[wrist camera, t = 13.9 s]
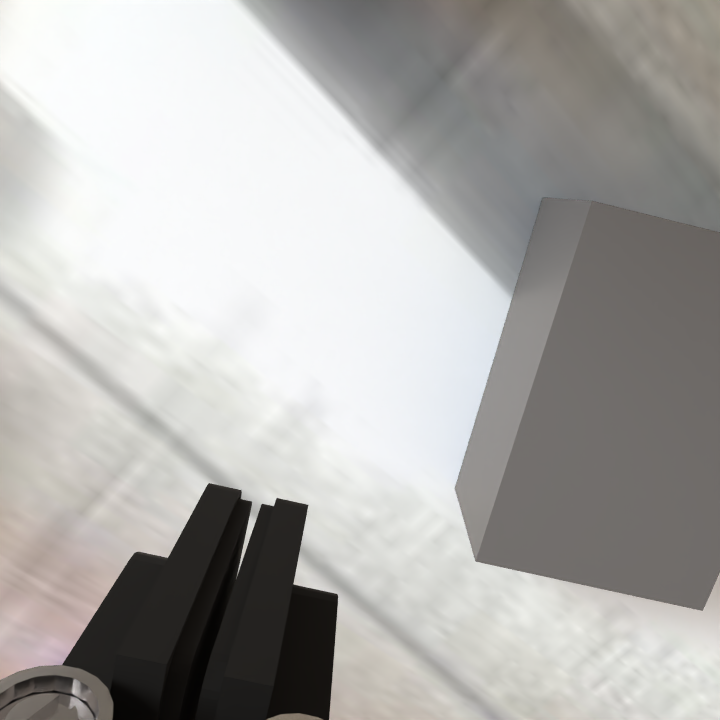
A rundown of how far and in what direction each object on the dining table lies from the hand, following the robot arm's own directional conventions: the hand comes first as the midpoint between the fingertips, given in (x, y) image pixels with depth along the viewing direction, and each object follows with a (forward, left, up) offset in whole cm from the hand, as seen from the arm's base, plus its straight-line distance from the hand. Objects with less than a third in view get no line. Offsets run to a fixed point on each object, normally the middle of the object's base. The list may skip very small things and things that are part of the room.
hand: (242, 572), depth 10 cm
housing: (+1, +16, -27) cm, 31 cm away
